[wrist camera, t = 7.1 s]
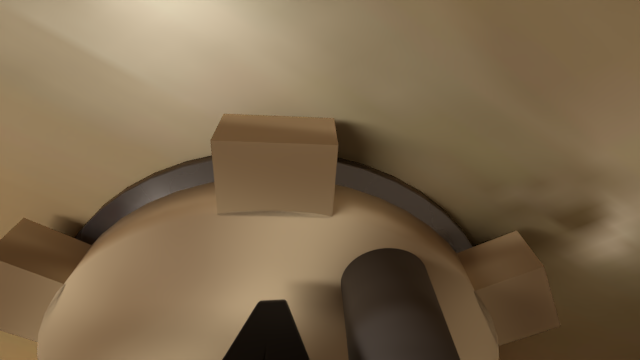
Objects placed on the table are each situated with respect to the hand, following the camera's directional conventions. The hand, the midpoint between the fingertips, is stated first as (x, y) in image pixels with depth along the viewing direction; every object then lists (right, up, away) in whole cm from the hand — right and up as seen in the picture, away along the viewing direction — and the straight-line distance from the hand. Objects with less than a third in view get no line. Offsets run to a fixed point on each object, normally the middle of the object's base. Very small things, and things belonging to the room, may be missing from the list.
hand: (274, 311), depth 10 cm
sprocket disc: (0, -3, +6) cm, 6 cm away
